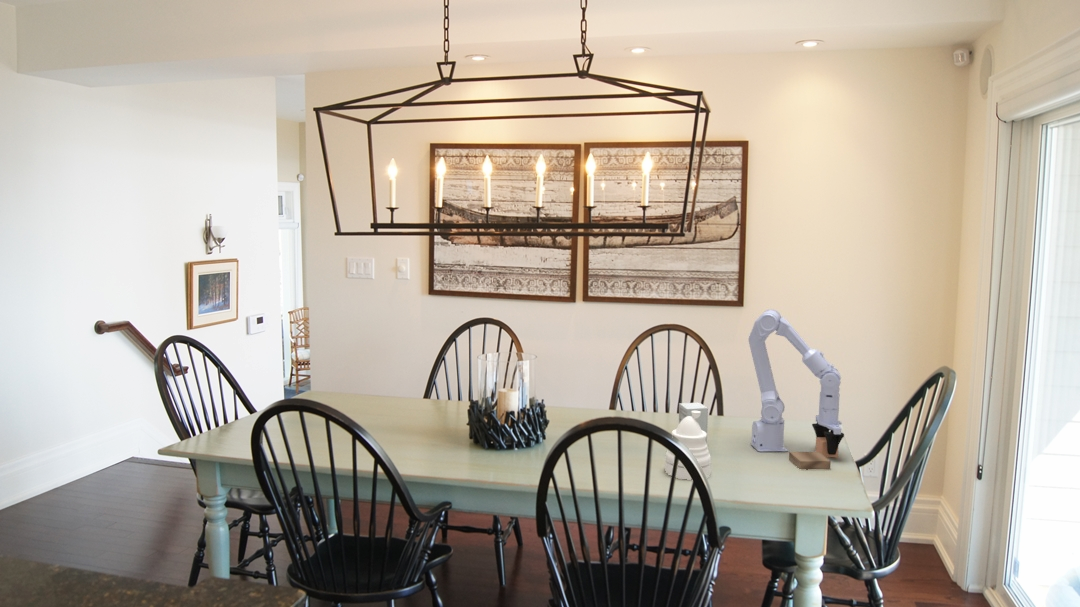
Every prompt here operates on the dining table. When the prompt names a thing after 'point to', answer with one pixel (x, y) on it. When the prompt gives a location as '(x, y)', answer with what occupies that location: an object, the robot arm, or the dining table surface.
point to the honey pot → (690, 446)
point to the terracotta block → (823, 447)
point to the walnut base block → (809, 460)
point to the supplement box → (687, 409)
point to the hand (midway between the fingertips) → (826, 450)
